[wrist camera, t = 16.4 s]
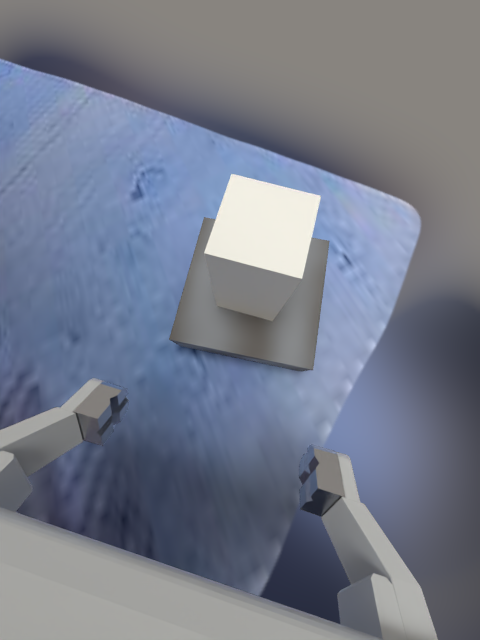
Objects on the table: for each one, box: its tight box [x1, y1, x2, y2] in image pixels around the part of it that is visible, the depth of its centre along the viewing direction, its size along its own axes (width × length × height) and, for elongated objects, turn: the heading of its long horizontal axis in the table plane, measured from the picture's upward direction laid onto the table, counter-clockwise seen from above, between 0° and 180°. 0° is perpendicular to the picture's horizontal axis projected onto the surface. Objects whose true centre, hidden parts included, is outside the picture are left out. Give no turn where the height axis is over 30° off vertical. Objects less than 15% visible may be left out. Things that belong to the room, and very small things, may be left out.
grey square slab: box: [169, 217, 329, 371], centre depth 20 cm, size 11×11×4 cm
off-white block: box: [204, 174, 321, 321], centre depth 15 cm, size 4×4×8 cm
